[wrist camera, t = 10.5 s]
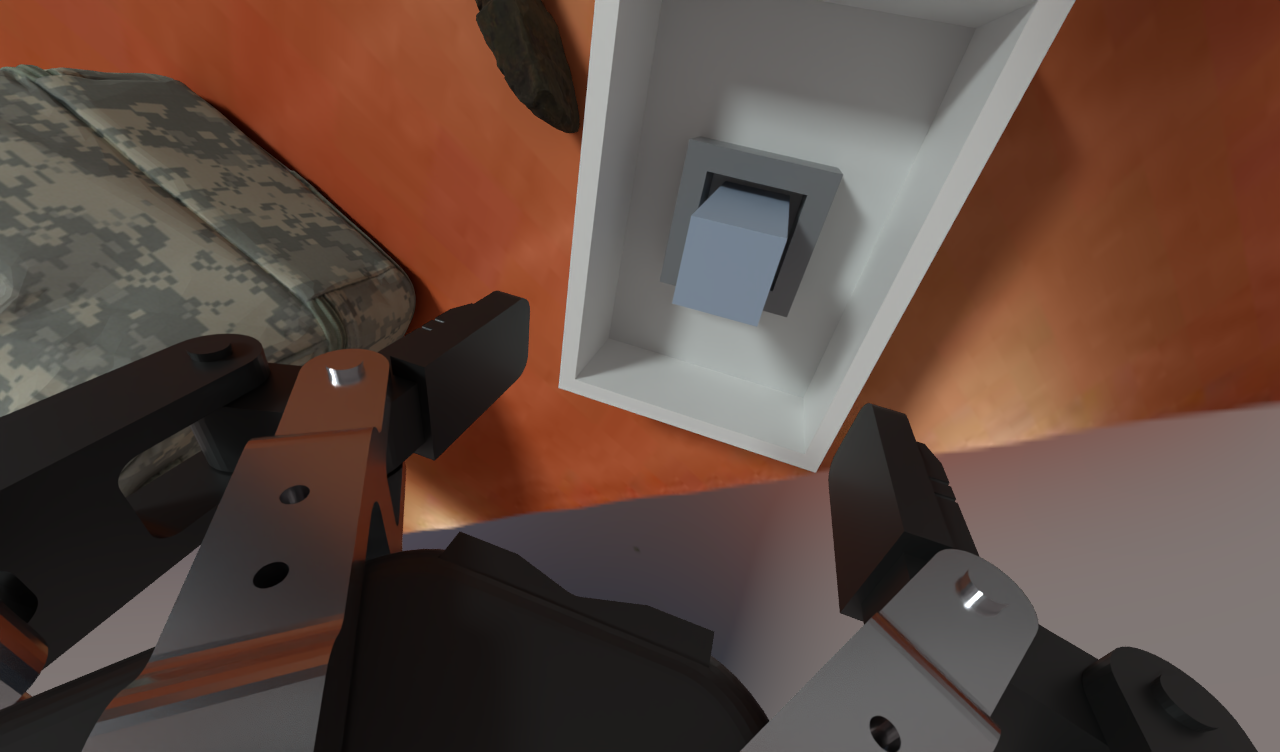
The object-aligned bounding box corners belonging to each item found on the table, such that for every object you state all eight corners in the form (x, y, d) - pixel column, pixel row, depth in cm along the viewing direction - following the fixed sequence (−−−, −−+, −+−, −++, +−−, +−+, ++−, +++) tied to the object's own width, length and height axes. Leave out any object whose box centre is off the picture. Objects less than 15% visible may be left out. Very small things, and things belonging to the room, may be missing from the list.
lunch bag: (145, 217, 42) (-354, 300, 24) (158, 29, 32) (-682, -77, 14) (372, 408, 46) (97, 602, 28) (446, 293, 36) (92, 479, 18)
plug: (725, 181, 25) (691, 215, 17) (789, 195, 25) (787, 238, 16) (709, 244, 27) (672, 303, 19) (768, 259, 26) (757, 326, 18)
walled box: (655, -52, 22) (605, -110, 16) (1006, 7, 19) (1095, -37, 14) (599, 340, 34) (558, 387, 28) (811, 406, 31) (815, 472, 26)
